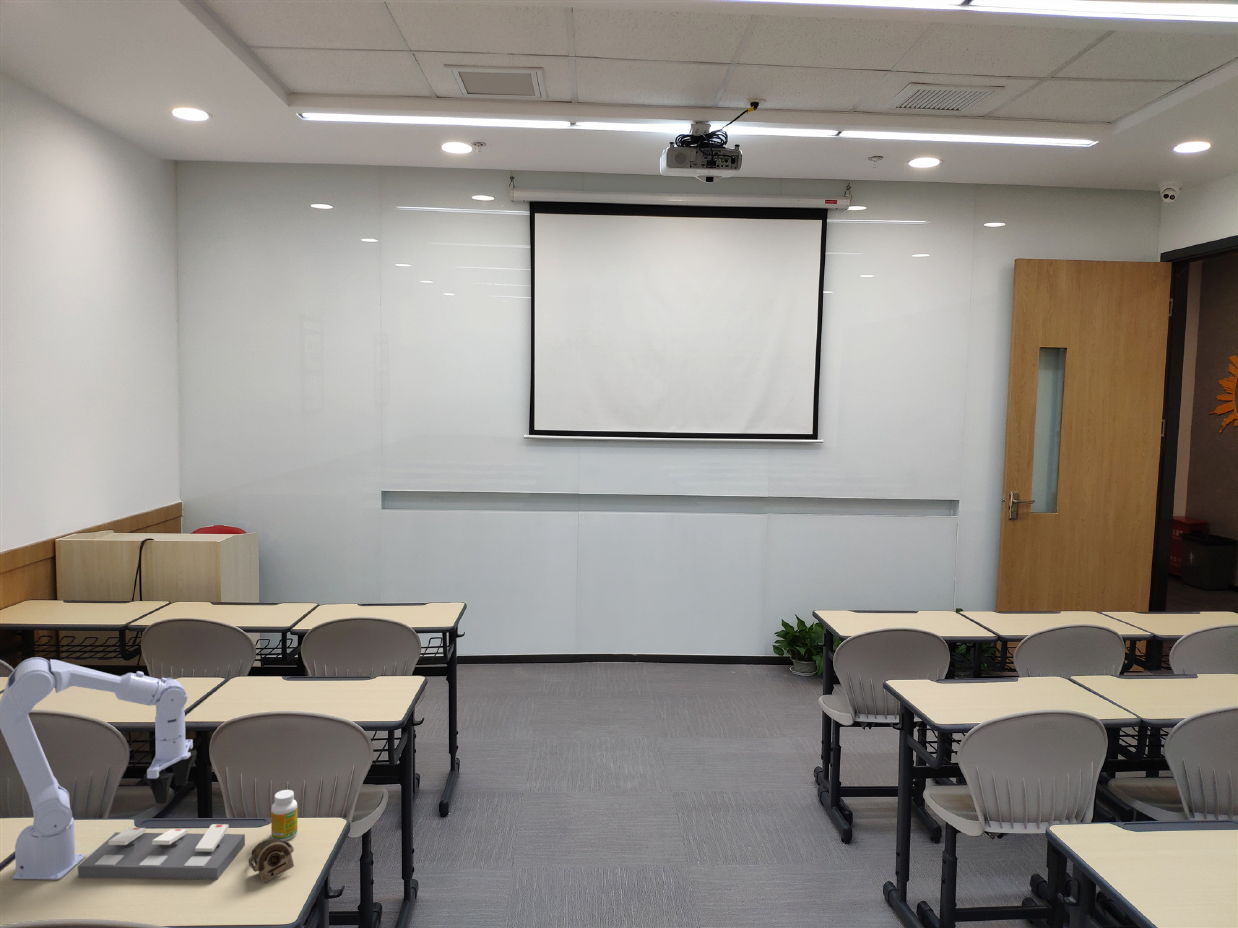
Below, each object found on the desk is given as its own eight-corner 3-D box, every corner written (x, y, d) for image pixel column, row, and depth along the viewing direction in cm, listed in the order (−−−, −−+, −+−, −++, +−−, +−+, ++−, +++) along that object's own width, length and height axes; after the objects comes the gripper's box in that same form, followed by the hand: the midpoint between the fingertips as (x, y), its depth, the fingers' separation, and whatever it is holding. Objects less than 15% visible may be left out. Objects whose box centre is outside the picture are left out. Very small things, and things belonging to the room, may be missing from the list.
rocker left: (108, 846, 158) (108, 840, 158) (128, 833, 165) (129, 827, 165) (125, 846, 158) (126, 840, 158) (145, 833, 165) (145, 827, 165)
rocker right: (195, 852, 159) (195, 847, 158) (212, 828, 165) (211, 823, 165) (213, 852, 159) (212, 847, 158) (229, 828, 165) (228, 824, 165)
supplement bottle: (287, 843, 167) (287, 801, 166) (266, 840, 168) (265, 798, 168) (302, 830, 173) (302, 789, 172) (281, 826, 174) (281, 786, 173)
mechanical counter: (234, 864, 151) (286, 847, 153) (246, 824, 163) (294, 809, 165) (244, 894, 153) (295, 877, 155) (254, 852, 165) (302, 836, 167)
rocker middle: (151, 846, 158) (152, 839, 158) (170, 834, 165) (170, 828, 165) (169, 846, 158) (169, 839, 158) (186, 835, 165) (187, 828, 165)
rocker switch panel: (78, 877, 154) (77, 863, 153) (115, 843, 165) (115, 829, 165) (217, 879, 154) (217, 864, 154) (244, 844, 166) (244, 831, 166)
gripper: (170, 750, 161) (171, 811, 162) (205, 721, 175) (206, 777, 176) (136, 749, 161) (138, 810, 162) (174, 720, 175) (175, 776, 176)
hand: (171, 793), depth 169 cm, fingers open, 7 cm apart
